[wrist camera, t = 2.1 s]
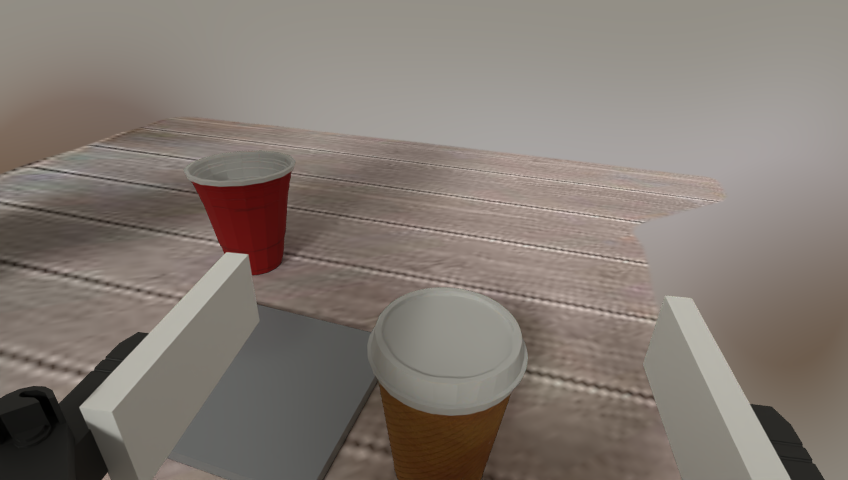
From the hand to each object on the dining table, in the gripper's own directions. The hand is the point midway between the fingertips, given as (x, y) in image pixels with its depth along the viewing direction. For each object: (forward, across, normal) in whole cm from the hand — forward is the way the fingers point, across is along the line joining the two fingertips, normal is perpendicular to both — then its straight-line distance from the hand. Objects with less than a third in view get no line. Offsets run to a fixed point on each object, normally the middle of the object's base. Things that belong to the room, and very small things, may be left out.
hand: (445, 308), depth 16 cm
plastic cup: (+33, -24, -21) cm, 46 cm away
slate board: (+15, -15, -21) cm, 30 cm away
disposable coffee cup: (+10, 0, -21) cm, 24 cm away
